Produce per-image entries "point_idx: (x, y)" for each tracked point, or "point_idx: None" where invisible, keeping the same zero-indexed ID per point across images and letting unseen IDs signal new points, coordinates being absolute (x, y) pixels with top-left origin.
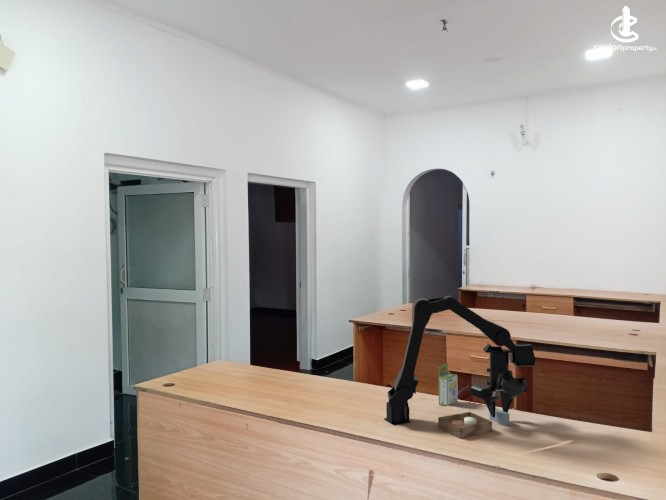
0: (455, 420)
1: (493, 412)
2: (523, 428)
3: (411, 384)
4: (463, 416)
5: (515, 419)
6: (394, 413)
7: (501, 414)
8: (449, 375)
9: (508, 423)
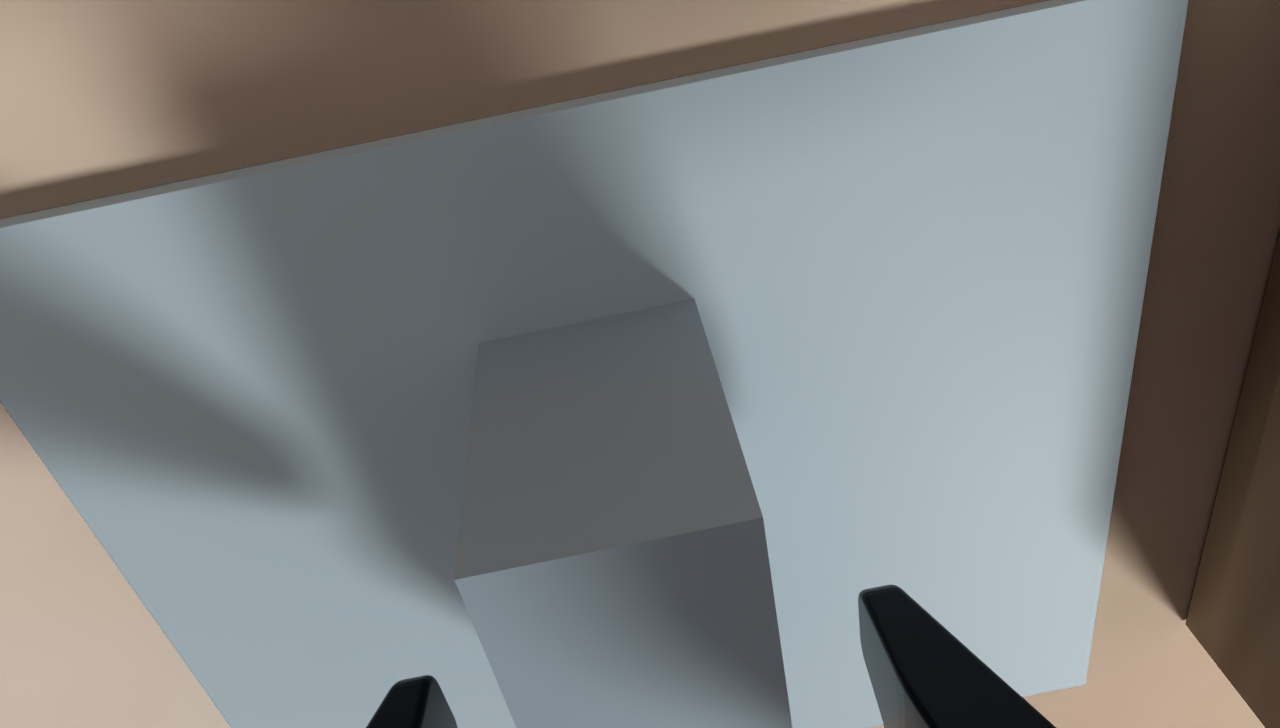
0: None
1: (1013, 691)
2: (134, 42)
3: None
4: None
5: (118, 634)
6: None
7: (771, 578)
8: None
9: (509, 360)
